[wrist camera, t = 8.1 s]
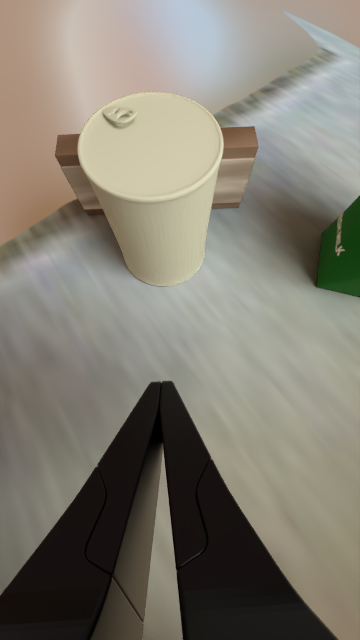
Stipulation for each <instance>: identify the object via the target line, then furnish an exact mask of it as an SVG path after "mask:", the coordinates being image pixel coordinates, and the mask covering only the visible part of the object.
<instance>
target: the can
mask: <svg viewBox="0 0 360 640" xmlns="http://www.w3.org/2000/svg"><path fill="white" fill-rule="evenodd" d="M223 146H224V143H223V136H222V131H221V129H220V127H219V124H218V123H217V121H216V120H215V118H214V117H213V116H212V115H211V114H210V112H208V111H207V110H206V109H205V108H204V107H202V106H201V105H199V104H198V103H196V102H194V101H192V100H190V99H188V98H185V97H183V96H179V95H175V94H170V93H163V92H144V93H136V94H132V95H128V96H124V97H121V98H119V99H116V100H114V101H112V102H110V103H108V104H106V105H105V106H103V107H102V108H100V109H99V110H98V111H97V112H95V113H94V114H93V116H91V117H90V118H89V119H88V121H87V122H86V124H85V125H84V127H83V129H82V131H81V133H80V136H79V139H78V146H77V151H78V158H79V162H80V165H81V167H82V170H83V171H84V173H85V175H86V176H87V178H88V180H89V181H90V183H91V185H92V188H93V190H94V192H95V194H96V196H97V198H98V200H99V202H100V204H101V207H102V209H103V211H104V213H105V215H106V217H107V219H108V222H109V224H110V226H111V228H112V230H113V233H114V235H115V237H116V239H117V241H118V244H119V246H120V248H121V251H122V253H123V256H124V261H125V263H126V265H127V267H128V269H129V270H130V272H131V273H132V274H133V275H134V276H135V277H137V278H138V279H139V280H141V281H143V282H145V283H147V284H150V285H154V286H172V285H176V284H179V283H182V282H184V281H186V280H188V279H189V278H191V277H192V276H193V275H194V274H195V273H196V272H197V271H198V269H199V268H200V267H201V265H202V263H203V260H204V257H205V242H206V236H207V229H208V224H209V218H210V212H211V206H212V201H213V195H214V190H215V185H216V180H217V174H218V169H219V165H220V161H221V158H222V154H223Z"/></svg>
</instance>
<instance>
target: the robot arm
mask: <svg viewBox="0 0 360 640" xmlns="http://www.w3.org/2000/svg"><path fill="white" fill-rule="evenodd" d="M163 449H164V458H165V468H166V478H167V487H168V497H169V506H170V516H171V525H172V535H173V544H174V554H175V563H176V571H177V583H178V592H179V602H180V612H181V623H182V634H183V640H338V639H337V637H336V636H335V635H334V634H333V633H332V632H331V631H330V630H329V629H328V627H327V626H326V625H325V624H324V623H323V622H322V621H321V620H320V619H319V617H318V616H317V615H316V614H315V613H314V612H313V611H312V610H311V609H310V607H309V606H308V605H307V604H306V603H305V602H304V600H303V599H302V598H301V597H300V595H299V594H298V593H297V592H296V590H295V589H294V588H293V586H292V585H291V584H290V582H289V581H288V580H287V578H286V577H285V575H284V574H283V573H282V571H281V570H280V568H279V567H278V565H277V564H276V562H275V561H274V559H273V558H272V556H271V555H270V553H269V552H268V550H267V549H266V547H265V546H264V544H263V543H262V541H261V539H260V538H259V536H258V535H257V533H256V532H255V530H254V529H253V527H252V526H251V524H250V523H249V521H248V520H247V518H246V517H245V515H244V514H243V512H242V511H241V509H240V507H239V506H238V504H237V502H236V501H235V499H234V498H233V496H232V494H231V493H230V491H229V490H228V488H227V486H226V484H225V482H224V480H223V479H222V477H221V475H220V473H219V471H218V469H217V467H216V465H215V464H214V462H213V460H212V459H211V456H210V454H209V452H208V450H207V448H206V446H205V444H204V442H203V440H202V438H201V436H200V434H199V432H198V430H197V428H196V426H195V424H194V422H193V421H192V419H191V417H190V415H189V413H188V411H187V409H186V407H185V405H184V403H183V401H182V399H181V397H180V395H179V393H178V391H177V389H176V387H175V385H174V383H173V382H172V381H163V382H162V383H161V382H160V381H159V382H151V383H150V384H149V385H148V387H147V389H146V390H145V392H144V393H143V395H142V396H141V398H140V399H139V401H138V403H137V404H136V406H135V407H134V409H133V410H132V412H131V413H130V415H129V416H128V418H127V420H126V421H125V423H124V424H123V426H122V427H121V429H120V430H119V432H118V434H117V435H116V437H115V438H114V440H113V441H112V443H111V444H110V446H109V447H108V449H107V451H106V452H105V454H104V455H103V457H102V458H101V460H100V461H99V463H98V467H95V469H94V470H93V472H92V474H91V475H90V477H89V478H88V480H87V481H86V483H85V484H84V486H83V487H82V489H81V490H80V492H79V493H78V495H77V496H76V497H75V499H74V500H73V502H72V503H71V504H70V506H69V507H68V508H67V510H66V511H65V512H64V514H63V515H62V516H61V518H60V519H59V520H58V522H57V523H56V524H55V526H54V527H53V528H52V530H51V531H50V532H49V533H48V535H47V536H46V537H45V539H44V540H43V541H42V543H41V544H40V545H39V546H38V548H37V549H36V550H35V552H34V553H33V554H32V556H31V557H30V558H29V559H28V561H27V562H26V563H25V565H24V566H23V567H22V569H21V570H20V571H19V572H18V574H17V575H16V576H15V578H14V579H13V580H12V582H11V583H10V584H9V585H8V587H7V588H6V589H5V590H4V592H3V593H2V594H1V595H0V640H142V633H143V621H144V614H145V605H146V596H147V587H148V578H149V569H150V560H151V551H152V543H153V534H154V525H155V516H156V507H157V498H158V489H159V480H160V471H161V462H162V453H163Z"/></svg>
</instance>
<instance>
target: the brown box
mask: <svg viewBox="0 0 360 640" xmlns="http://www.w3.org/2000/svg"><path fill="white" fill-rule="evenodd" d="M220 129H221V131H222V136H223V143H224V146H223V154H222V158H221V161H220V165H219V169H218V174H217V180H216V185H215V190H214V195H213V201H212V206H211V209H218V208H238V207H239V204H240V202H241V200H242V197H243V194H244V191H245V188H246V185H247V182H248V179H249V176H250V173H251V170H252V167H253V164H254V161H255V155H256V152H257V149H258V142H257V137H256V132H255V127H254V126H253V127H230V128H220ZM79 136H80V134H70V135H58V138H57V145H56V153H55V156H56V158H57V160H58V162H59V164H60V165H61V169H62V171H63V173H64V175H65V176H66V178H67V180H68V182H69V183H70V185H71V187H72V189H73V191H74V192H75V194H76V196H77V198H78V199H79V201H80V203H81V205H82V207H83V208H84V210H86V212H87V214H88V215H90V214H105V213H104V211H103V209H102V207H101V204H100V202H99V200H98V198H97V196H96V194H95V192H94V190H93V188H92V185H91V183H90V181H89V180H88V178H87V176H86V175H85V173H84V171H83V170H82V167H81V165H80V162H79V158H78V151H77V146H78V139H79Z"/></svg>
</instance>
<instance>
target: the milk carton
mask: <svg viewBox="0 0 360 640" xmlns="http://www.w3.org/2000/svg"><path fill="white" fill-rule="evenodd" d="M317 287H319V288H323V289H328V290H332V291H336V292H341V293H345V294H349V295H354V296H358V297H360V196H359V197H358V198H357V199H356V200H355V201H354V202H353V203H352V204H351V205H350V206H349V207H348V208H347V209H346V210H345V211H344V212H343V213H342V214H341V215H340V216H339V217H338V218H337V219H336V220H335V221H334V222H333V223H332V224H331V225H330V226H329V227H328V228H327V229H326V230H325V231H324V232H323V233H322V239H321V249H320V258H319V268H318V278H317Z"/></svg>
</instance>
